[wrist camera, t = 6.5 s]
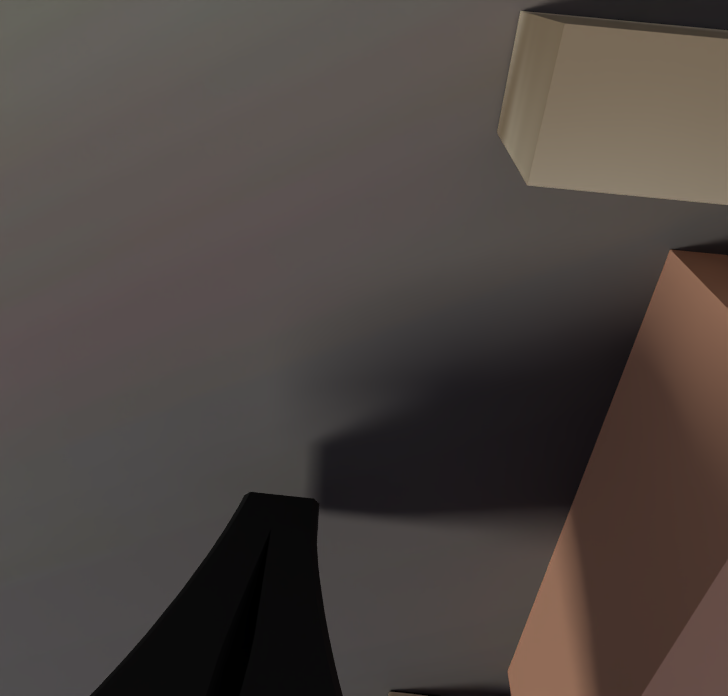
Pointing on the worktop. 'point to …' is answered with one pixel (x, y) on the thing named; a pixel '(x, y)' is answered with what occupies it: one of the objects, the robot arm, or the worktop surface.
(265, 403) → the worktop surface
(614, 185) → the nest
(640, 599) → the tee
